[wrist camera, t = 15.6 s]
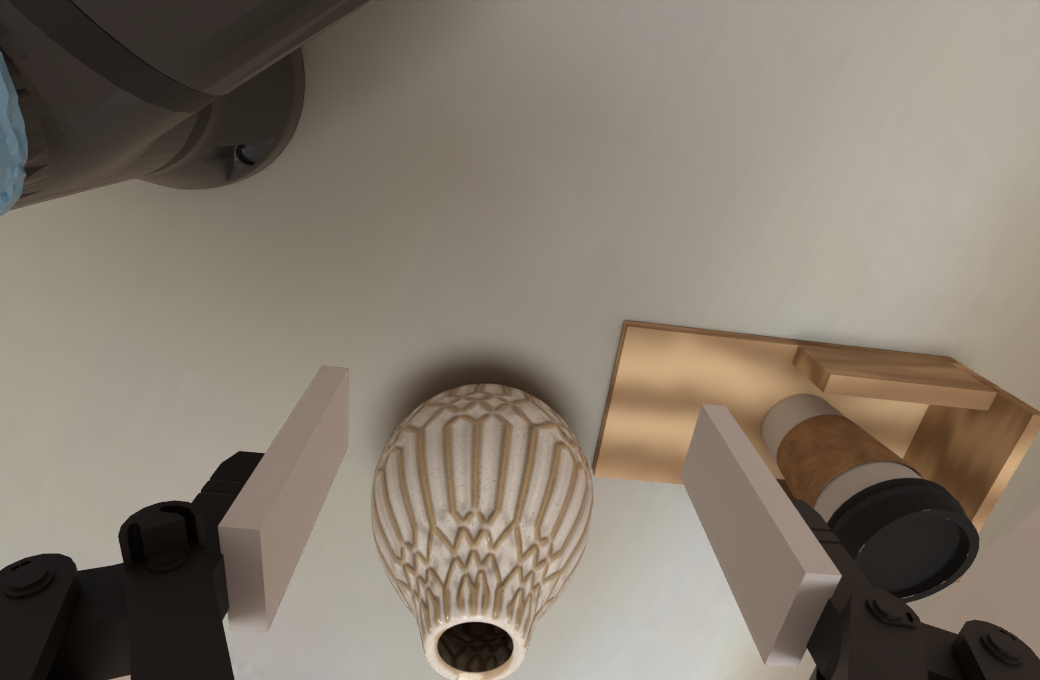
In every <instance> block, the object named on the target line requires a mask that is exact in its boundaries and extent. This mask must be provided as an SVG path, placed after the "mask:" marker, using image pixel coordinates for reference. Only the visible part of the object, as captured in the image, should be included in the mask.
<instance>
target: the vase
mask: <svg viewBox="0 0 1040 680" xmlns="http://www.w3.org/2000/svg"><path fill="white" fill-rule="evenodd" d="M592 510H593V484H592V478H591V473H590V470H589V466H588V463H587V460H586V457H585V455H584V452H583V450H582V448H581V446H580V444H579V442H578V440H577V438H576V436H575V435H574V433H573V432H572V430H571V428H570V427H569V426H568V425H567V423H566V422H565V421H564V420H563V419H562V418H561V417H560V416H559V415H558V414H557V413H556V412H555V411H554V410H553V409H552V408H551V407H549V406H548V405H547V404H545V403H544V402H542V401H541V400H539V399H538V398H536V397H534V396H532V395H530V394H528V393H526V392H524V391H521V390H519V389H516V388H512V387H509V386H504V385H498V384H471V385H464V386H460V387H456V388H453V389H450V390H447V391H445V392H442V393H440V394H438V395H436V396H434V397H432V398H430V399H429V400H427V401H425V402H424V403H422V404H421V405H420V406H419V407H417V408H416V409H415V410H413V411H412V412H411V413H410V414H409V415H408V416H407V417H406V418H405V419H404V420H403V421H402V422H401V424H400V425H399V426H398V427H397V429H396V430H395V431H394V433H393V434H392V436H391V437H390V439H389V441H388V442H387V444H386V446H385V448H384V450H383V452H382V454H381V456H380V459H379V461H378V464H377V466H376V470H375V473H374V478H373V483H372V491H371V517H372V527H373V534H374V539H375V544H376V548H377V552H378V555H379V558H380V561H381V564H382V566H383V568H384V570H385V573H386V575H387V577H388V578H389V580H390V582H391V584H392V586H393V587H394V589H395V591H396V592H397V594H398V596H399V597H400V599H401V600H402V602H403V603H404V604H405V605H406V607H407V608H408V609H409V611H410V612H411V613H412V614H413V615H414V616H415V618H416V620H417V623H418V626H419V630H420V635H421V640H422V646H423V650H424V654H425V657H426V659H427V661H428V663H429V664H430V666H431V667H432V668H433V669H434V670H435V671H436V672H437V673H439V674H440V675H442V676H443V677H445V678H447V679H449V680H501V679H503V678H505V677H507V676H508V675H510V674H512V673H513V672H514V671H515V670H516V669H517V668H518V667H519V666H520V665H521V663H522V662H523V660H524V658H525V655H526V652H527V650H528V646H529V643H530V640H531V636H532V633H533V630H534V628H535V625H536V623H537V621H538V620H539V619H540V618H541V617H542V616H543V615H544V614H545V613H546V612H547V611H548V610H549V609H550V608H551V606H552V605H553V604H554V603H555V602H556V600H557V599H558V598H559V596H560V595H561V593H562V592H563V591H564V589H565V588H566V586H567V585H568V583H569V582H570V580H571V578H572V577H573V575H574V573H575V571H576V569H577V567H578V565H579V563H580V560H581V558H582V555H583V553H584V550H585V546H586V543H587V539H588V535H589V530H590V525H591V520H592Z"/></svg>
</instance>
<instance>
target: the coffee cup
mask: <svg viewBox="0 0 1040 680" xmlns="http://www.w3.org/2000/svg"><path fill="white" fill-rule="evenodd" d="M761 432H762V438H763V440H764V442H765V444H766V446H767V448H768V450H769V451H770V453H771V455H772V457H773V458H774V460H775V462H776V463H777V465H778V467H779V470H780V472H781V473H782V475H783V477H784V479H785V481H786V483H787V485H788V487H789V488H790V490H791V492H792V494H793V496H794V498H795V499H799V500H803V501H804V502H806V503H807V504H808V505H809V506H811V507H812V508H813V509H814V510H816V511H817V512H818V513H819V514H820V515H821V516H822V518H823V519H824V520H825V522H826V523H827V525H828V526H829V527H830V529H831V532H833V533H834V534H835V535H836V537H837V538H838V540H839V541H840V545H843V546H844V548H845V549H846V550H847V552H848V553H849V555H850V556H851V557H852V559H853V560H854V561H855V563H856V564H857V565H858V567H859V568H860V570H861V571H862V572H863V574H864V575H865V576H866V578H867V579H868V580H869V582H870V583H871V585H872V586H873V587H875V588H878V589H881V590H884V591H887V592H889V593H890V594H892V595H894V596H896V597H898V598H899V599H901V600H902V601H903V602H904V603H908V602H912V601H916V600H919V599H922V598H925V597H927V596H930V595H932V594H934V593H936V592H938V591H941V590H943V589H944V588H946V587H947V586H949V585H951V584H952V583H954V582H955V581H956V580H957V579H958V578H960V577H961V576H962V575H963V574H964V573H965V572H966V571H967V569H968V568H969V567H970V566H971V564H972V563H973V561H974V559H975V558H976V555H977V552H978V549H979V536H978V532H977V530H976V528H975V526H974V525H973V523H972V522H971V521H970V519H969V518H968V517H967V515H966V514H965V511H964V509H963V507H962V506H961V504H960V503H959V501H958V500H956V499H955V498H954V497H953V496H952V495H951V493H949V492H948V491H947V490H946V489H945V488H944V487H943V486H941V485H939V484H937V483H935V482H933V481H929V480H925V479H924V478H923V477H922V475H921V474H920V473H919V472H918V471H917V470H916V469H915V468H914V467H913V466H911V465H910V464H909V463H907V462H906V461H905V460H903V459H902V458H901V457H899V456H898V455H897V454H895V453H894V452H893V451H891V450H890V449H889V448H887V447H886V446H885V445H883V444H882V443H881V442H879V441H878V440H877V439H875V438H874V437H873V436H871V435H870V434H869V433H867V432H866V431H865V430H863V429H862V428H861V427H859V426H858V425H857V424H855V423H854V422H853V421H851V420H849V419H848V418H847V417H845V416H844V415H843V414H842V413H840V412H839V411H838V410H837V409H835V408H834V407H833V406H832V405H830V404H829V403H828V402H827V401H825V400H824V399H822V398H820V397H818V396H815V395H810V394H799V395H794V396H790V397H788V398H786V399H783V400H782V401H780V402H778V403H777V404H776V405H775V406H773V407H772V408H771V409H770V411H769V412H768V413H767V415H766V417H765V418H764V421H763V424H762V431H761Z"/></svg>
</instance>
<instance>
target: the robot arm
mask: <svg viewBox="0 0 1040 680" xmlns="http://www.w3.org/2000/svg"><path fill="white" fill-rule="evenodd" d="M369 1H371V0H0V216H2V215H4V214H5V213H7V212H8V211H9V210H13V209H17V208H21V207H25V206H29V205H32V204H36V203H40V202H44V201H48V200H52V199H56V198H60V197H64V196H68V195H71V194H75V193H79V192H83V191H87V190H91V189H95V188H99V187H103V186H106V185H110V184H114V183H118V182H122V181H126V180H130V179H134V178H136V179H140V180H143V181H147V182H151V183H154V184H158V185H162V186H166V187H171V188H177V189H210V188H217V187H221V186H225V185H228V184H231V183H234V182H237V181H240V180H243V179H245V178H248V177H250V176H252V175H254V174H256V173H258V172H259V171H261V170H262V169H264V168H265V167H267V166H268V165H269V164H270V163H272V162H273V161H274V160H275V159H276V158H277V157H278V156H279V154H280V153H281V152H282V151H283V150H284V148H285V147H286V145H287V144H288V142H289V141H290V139H291V137H292V135H293V133H294V131H295V129H296V126H297V124H298V121H299V118H300V114H301V110H302V105H303V99H304V67H303V59H302V54H301V49H300V46H302V45H303V44H305V43H306V42H308V41H309V40H311V39H312V38H314V37H315V36H317V35H319V34H320V33H322V32H323V31H325V30H326V29H328V28H329V27H331V26H332V25H334V24H335V23H337V22H339V21H340V20H342V19H343V18H345V17H346V16H348V15H349V14H351V13H352V12H354V11H355V10H357V9H359V8H360V7H362V6H363V5H365V4H366V3H368V2H369ZM348 385H349V368H340V367H330V366H322V367H321V368H320V370H319V371H318V373H317V374H316V376H315V377H314V379H313V380H312V382H311V384H310V385H309V387H308V388H307V390H306V391H305V393H304V394H303V396H302V397H301V399H300V401H299V402H298V404H297V405H296V407H295V408H294V410H293V411H292V413H291V414H290V416H289V417H288V419H287V421H286V422H285V424H284V425H283V427H282V428H281V430H280V431H279V433H278V434H277V436H276V438H275V439H274V441H273V442H272V444H271V445H270V447H269V448H268V450H267V451H266V453H255V452H243V451H239V452H237V453H236V454H234V455H233V456H231V457H230V458H228V459H227V460H225V461H224V462H222V463H221V464H220V466H219V467H218V468H217V470H216V471H215V472H214V474H213V475H212V476H211V478H210V481H208V482H207V483H206V484H205V486H204V487H203V488H202V490H201V493H199V494H198V495H197V496H196V498H195V499H194V500H193V502H192V503H189V502H183V501H168V502H160V503H157V504H154V505H151V506H148V507H145V508H143V509H141V510H140V511H138V512H136V513H135V514H133V515H131V516H130V517H129V518H128V519H127V520H126V521H125V522H124V524H123V525H122V526H121V528H120V532H119V535H118V538H119V543H120V547H121V552H122V557H123V562H124V563H121V564H116V565H112V566H106V567H100V568H93V569H87V570H81V571H77V567H76V564H75V563H74V562H73V560H72V559H71V558H70V557H68V556H65V555H62V554H40V555H36V556H31V557H27V558H24V559H22V560H19V561H17V562H15V563H13V564H10V565H8V566H6V567H5V568H3V569H2V570H0V680H109V679H113V678H118V677H122V676H127V675H131V680H234V675H233V670H232V666H231V661H230V656H229V651H228V647H227V642H226V637H225V632H224V628H223V623H222V621H223V619H224V617H225V615H226V613H227V611H228V619H229V628H230V630H243V631H258V632H268V630H269V628H270V626H271V623H272V621H273V619H274V616H275V614H276V612H277V609H278V607H279V605H280V603H281V600H282V598H283V596H284V593H285V591H286V589H287V586H288V584H289V582H290V579H291V577H292V575H293V573H294V570H295V568H296V566H297V563H298V561H299V559H300V556H301V554H302V552H303V549H304V547H305V545H306V542H307V540H308V538H309V536H310V533H311V531H312V529H313V526H314V524H315V522H316V519H317V517H318V515H319V512H320V510H321V508H322V505H323V503H324V501H325V499H326V496H327V494H328V492H329V489H330V487H331V485H332V482H333V480H334V478H335V475H336V473H337V471H338V468H339V466H340V464H341V462H342V459H343V457H344V455H345V452H346V450H347V448H348ZM680 477H681V479H682V481H683V483H684V486H685V488H686V490H687V492H688V495H689V497H690V499H691V501H692V503H693V506H694V508H695V510H696V512H697V515H698V517H699V519H700V521H701V524H702V526H703V528H704V530H705V532H706V535H707V537H708V539H709V541H710V544H711V546H712V548H713V550H714V553H715V555H716V557H717V559H718V562H719V564H720V566H721V568H722V570H723V573H724V575H725V577H726V579H727V582H728V584H729V586H730V588H731V591H732V593H733V595H734V597H735V600H736V602H737V604H738V606H739V608H740V611H741V613H742V615H743V617H744V620H745V622H746V624H747V626H748V629H749V631H750V633H751V635H752V638H753V640H754V642H755V644H756V646H757V649H758V651H759V653H760V655H761V658H762V660H763V662H764V664H765V665H774V666H789V667H798V666H799V664H800V661H801V659H802V657H803V655H804V653H805V651H806V649H807V648H808V650H809V652H810V654H811V656H812V658H813V660H814V662H815V663H816V667H815V669H814V671H813V673H812V675H811V677H810V679H809V680H1040V660H1039V658H1038V657H1037V656H1036V655H1035V653H1034V652H1033V651H1032V650H1031V648H1029V647H1028V646H1027V645H1026V644H1025V643H1024V642H1022V641H1021V640H1020V639H1019V638H1018V637H1016V636H1015V635H1013V634H1012V633H1010V632H1008V631H1007V630H1004V629H1003V628H1001V627H998V626H996V625H993V624H991V623H989V622H985V621H979V620H972V621H967V622H966V623H965V624H964V626H963V628H962V629H961V631H960V632H959V634H955V633H952V632H949V631H946V630H943V629H940V628H936V627H934V626H930V625H927V624H924V623H922V622H920V619H919V617H918V616H917V615H916V614H915V612H914V611H913V610H912V609H911V608H910V607H909V606H908V605H907V604H906V603H904V602H903V601H902V600H901V599H899V598H898V597H896V596H894V595H892V594H890V593H889V592H887V591H884V590H881V589H878V588H875V587H873V586H872V585H871V583H870V582H869V580H868V579H867V578H866V576H865V575H864V574H863V572H862V571H861V570H860V568H859V567H858V565H857V564H856V563H855V561H854V560H853V559H852V557H851V556H850V555H849V553H848V552H847V550H846V549H845V548H844V546H843V545H840V541H839V540H838V538H837V537H836V535H835V534H834V533H833V532H831V529H830V527H829V526H828V525H827V523H826V522H825V520H824V519H823V518H822V516H821V515H820V514H819V513H818V512H817V511H816V510H814V509H813V508H812V507H811V506H809V505H808V504H807V503H806V502H804V501H803V500H799V499H789V498H788V496H787V495H786V493H785V492H784V490H783V489H782V487H781V486H780V485H779V483H778V482H777V480H776V479H775V477H774V476H773V474H772V473H771V471H770V470H769V469H768V467H767V466H766V464H765V463H764V461H763V460H762V458H761V457H760V455H759V454H758V452H757V451H756V450H755V448H754V447H753V445H752V444H751V442H750V441H749V439H748V438H747V436H746V435H745V434H744V432H743V431H742V429H741V428H740V426H739V425H738V423H737V422H736V420H735V419H734V417H733V416H732V415H731V413H730V412H729V410H728V409H727V407H726V406H718V405H708V404H702V405H701V409H700V412H699V415H698V419H697V422H696V425H695V429H694V432H693V435H692V439H691V442H690V445H689V449H688V452H687V455H686V459H685V462H684V466H683V469H682V472H681V476H680Z"/></svg>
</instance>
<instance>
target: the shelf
mask: <svg viewBox="0 0 1040 680" xmlns="http://www.w3.org/2000/svg"><path fill="white" fill-rule="evenodd" d="M799 394H810V395H815V396H818V397H820V398H822V399H824V400H825V401H827V402H828V403H829V404H830V405H832V406H833V407H834V408H835V409H837V410H838V411H839V412H840V413H842V414H843V415H844V416H845V417H847V418H848V419H849V420H851V421H853V422H854V423H855V424H857V425H858V426H859V427H861V428H862V429H863V430H865V431H866V432H867V433H869V434H870V435H871V436H873V437H874V438H875V439H877V440H878V441H879V442H881V443H882V444H883V445H885V446H886V447H887V448H889V449H890V450H891V451H893V452H894V453H895V454H897V455H898V456H899V457H901V458H902V459H903V460H905V461H906V462H907V463H909V464H910V465H911V466H913V467H914V468H915V469H916V470H917V471H918V472H919V473H920V474H921V475H922V477H923V478H924V479H925V480H929V481H933V482H935V483H937V484H939V485H941V486H943V487H944V488H945V489H946V490H947V491H948V492H949V493H951V495H952V496H953V497H954V498H955V499H956V500H958V501H959V503H960V504H961V506H962V507H963V509H964V511H965V514H966V515H967V517H968V518H969V519H970V521H971V522H972V523H973V525H974V526H975V528H976V530H977V532H978V533H979V531H980V529H981V528H982V526H983V524H984V523H985V521H986V519H987V518H988V516H989V514H990V512H991V511H992V509H993V507H994V506H995V504H996V502H997V501H998V499H999V497H1000V496H1001V494H1002V492H1003V490H1004V489H1005V487H1006V485H1007V484H1008V482H1009V480H1010V479H1011V477H1012V475H1013V474H1014V472H1015V470H1016V468H1017V467H1018V465H1019V463H1020V462H1021V460H1022V458H1023V457H1024V455H1025V453H1026V452H1027V450H1028V448H1029V446H1030V445H1031V443H1032V441H1033V440H1034V438H1035V436H1036V435H1037V433H1038V431H1039V429H1040V412H1039V411H1038V410H1036V409H1034V408H1033V407H1031V406H1029V405H1028V404H1026V403H1025V402H1023V401H1021V400H1020V399H1018V398H1016V397H1015V396H1013V395H1011V394H1010V393H1008V392H1007V391H1005V390H1003V389H1002V388H1000V387H998V386H997V385H995V384H993V383H992V382H990V381H989V380H987V379H985V378H984V377H982V376H980V375H979V374H977V373H975V372H974V371H972V370H971V369H969V368H967V367H966V366H964V365H962V364H961V363H959V362H957V361H956V360H954V359H953V358H951V357H944V356H935V355H926V354H917V353H908V352H899V351H891V350H882V349H873V348H864V347H855V346H846V345H837V344H829V343H820V342H811V341H802V340H793V339H784V338H775V337H766V336H758V335H749V334H740V333H731V332H722V331H713V330H704V329H696V328H687V327H678V326H669V325H660V324H651V323H642V322H634V321H624V326H623V331H622V335H621V340H620V344H619V349H618V353H617V358H616V362H615V367H614V371H613V376H612V380H611V385H610V389H609V394H608V399H607V403H606V408H605V412H604V417H603V421H602V426H601V430H600V435H599V439H598V444H597V448H596V453H595V458H594V462H593V467H592V469H593V473H594V476H595V477H606V478H617V479H628V480H639V481H650V482H661V483H672V484H683V485H684V483H683V481H682V479H681V477H680V476H681V472H682V469H683V466H684V462H685V459H686V455H687V452H688V449H689V445H690V442H691V439H692V435H693V432H694V429H695V425H696V422H697V419H698V415H699V412H700V409H701V405H702V404H708V405H718V406H726V407H727V409H728V410H729V412H730V413H731V415H732V416H733V417H734V419H735V420H736V422H737V423H738V425H739V426H740V428H741V429H742V431H743V432H744V434H745V435H746V436H747V438H748V439H749V441H750V442H751V444H752V445H753V447H754V448H755V450H756V451H757V452H758V454H759V455H760V457H761V458H762V460H763V461H764V463H765V464H766V466H767V467H768V469H769V470H770V471H771V473H772V474H773V476H774V477H775V479H776V480H777V482H778V483H779V485H780V486H781V487H782V489H783V490H784V492H785V493H786V495H787V496H788V498H789V499H795V498H794V496H793V494H792V492H791V490H790V488H789V487H788V485H787V483H786V481H785V479H784V477H783V475H782V473H781V472H780V470H779V467H778V465H777V463H776V462H775V460H774V458H773V457H772V455H771V453H770V451H769V450H768V448H767V446H766V444H765V442H764V440H763V438H762V432H761V431H762V424H763V421H764V418H765V417H766V415H767V413H768V412H769V411H770V409H771V408H772V407H773V406H775V405H776V404H777V403H778V402H780V401H782V400H783V399H786V398H788V397H790V396H794V395H799ZM962 576H963V575H962ZM962 576H961V577H962ZM961 577H960V578H958V579H957V580H956V581H955V582H959V581H960V579H961Z"/></svg>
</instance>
